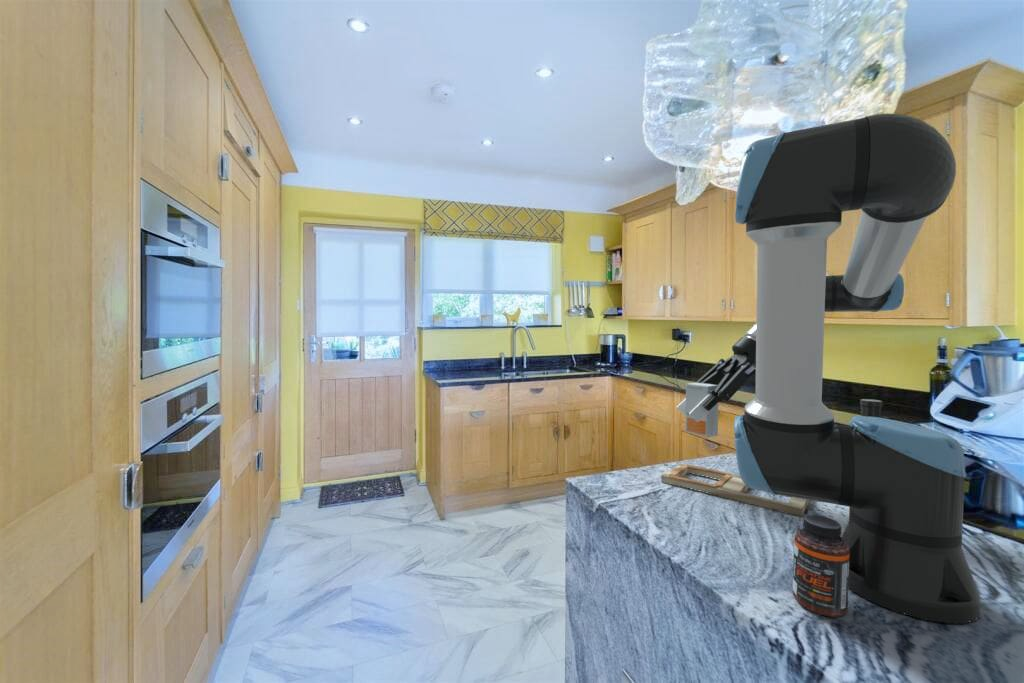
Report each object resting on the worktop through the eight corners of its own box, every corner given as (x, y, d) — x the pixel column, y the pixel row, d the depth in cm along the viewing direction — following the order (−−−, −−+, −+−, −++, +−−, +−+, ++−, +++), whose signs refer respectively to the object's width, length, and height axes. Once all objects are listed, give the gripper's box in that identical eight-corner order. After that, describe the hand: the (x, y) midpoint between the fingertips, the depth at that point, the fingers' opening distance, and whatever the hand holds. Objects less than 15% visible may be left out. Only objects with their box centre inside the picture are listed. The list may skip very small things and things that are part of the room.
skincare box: (684, 432, 102) (685, 383, 102) (695, 430, 104) (696, 382, 104) (707, 438, 97) (707, 386, 97) (718, 435, 99) (719, 384, 99)
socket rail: (801, 516, 82) (801, 507, 82) (661, 481, 101) (661, 474, 101) (810, 498, 91) (810, 490, 91) (680, 469, 110) (680, 462, 110)
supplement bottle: (788, 605, 56) (790, 520, 56) (796, 585, 60) (798, 506, 60) (845, 626, 52) (847, 535, 52) (850, 603, 56) (852, 519, 56)
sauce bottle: (884, 491, 96) (886, 403, 95) (849, 483, 100) (851, 400, 100) (889, 484, 100) (891, 400, 99) (855, 477, 105) (857, 397, 104)
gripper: (795, 360, 90) (717, 436, 91) (745, 355, 110) (681, 416, 111) (770, 335, 90) (692, 411, 91) (724, 334, 110) (661, 396, 111)
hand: (686, 414), depth 101 cm, fingers closed on skincare box, 7 cm apart
